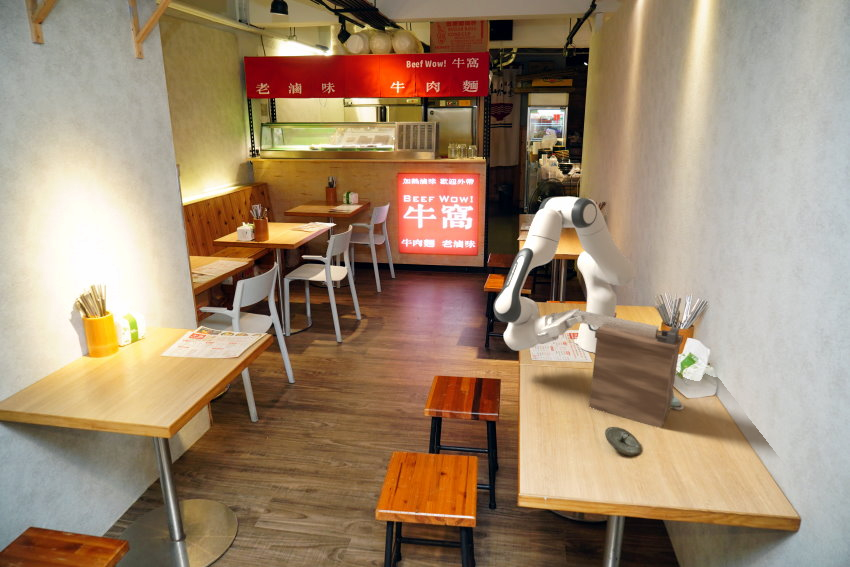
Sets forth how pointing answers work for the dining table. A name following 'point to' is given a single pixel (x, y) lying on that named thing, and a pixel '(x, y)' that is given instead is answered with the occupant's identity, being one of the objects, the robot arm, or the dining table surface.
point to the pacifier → (676, 403)
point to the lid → (622, 441)
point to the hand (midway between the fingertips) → (584, 316)
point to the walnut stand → (635, 374)
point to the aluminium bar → (618, 324)
